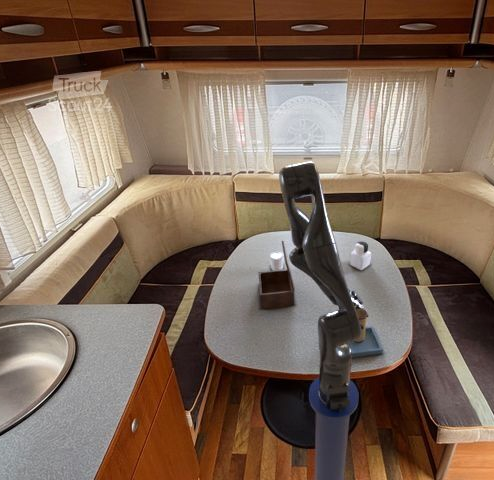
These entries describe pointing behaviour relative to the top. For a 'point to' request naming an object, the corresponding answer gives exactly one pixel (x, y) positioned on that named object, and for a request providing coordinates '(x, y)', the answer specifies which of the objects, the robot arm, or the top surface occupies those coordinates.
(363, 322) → the cookie roll
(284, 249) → the chest lid
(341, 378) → the robot arm
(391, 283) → the top surface
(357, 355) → the tray
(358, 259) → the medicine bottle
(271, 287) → the chest
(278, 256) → the white cylinder
